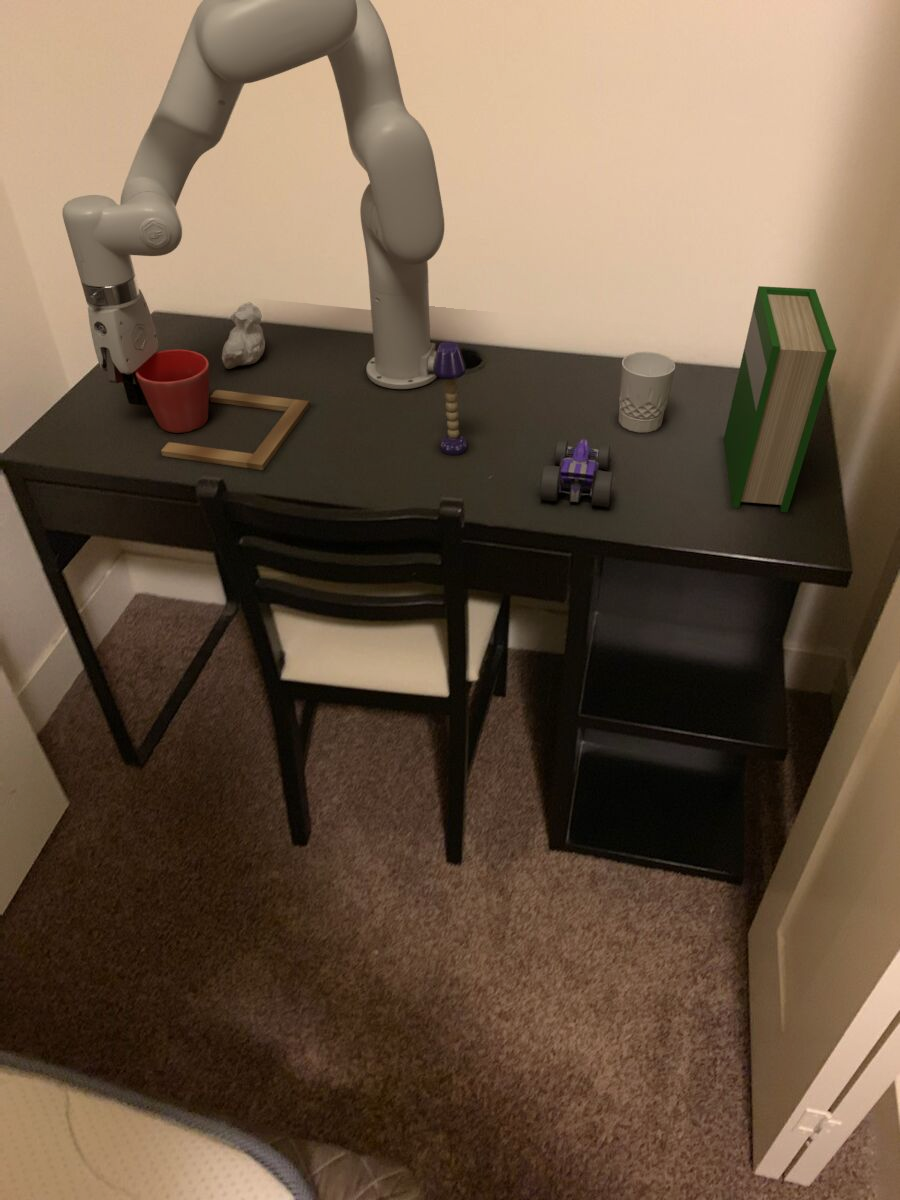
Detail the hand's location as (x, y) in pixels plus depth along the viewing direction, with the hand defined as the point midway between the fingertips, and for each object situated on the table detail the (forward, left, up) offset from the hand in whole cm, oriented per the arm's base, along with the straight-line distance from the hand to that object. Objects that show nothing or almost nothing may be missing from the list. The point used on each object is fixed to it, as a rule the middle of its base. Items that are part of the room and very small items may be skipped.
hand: (140, 402), depth 141 cm
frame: (-16, 0, -3) cm, 16 cm away
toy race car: (-70, +1, -3) cm, 70 cm away
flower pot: (-7, -1, -3) cm, 7 cm away
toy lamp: (-50, -3, -3) cm, 50 cm away
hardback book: (-94, -7, -3) cm, 95 cm away
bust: (-8, -22, -3) cm, 24 cm away
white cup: (-77, -17, -3) cm, 79 cm away
